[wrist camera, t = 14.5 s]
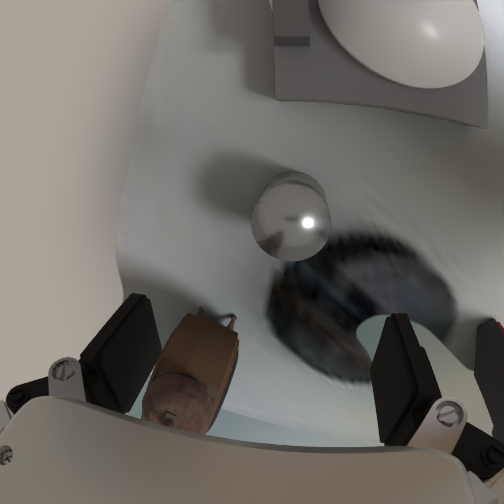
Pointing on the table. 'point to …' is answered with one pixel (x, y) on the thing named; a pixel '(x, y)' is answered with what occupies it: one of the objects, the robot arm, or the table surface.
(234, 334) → the alarm clock
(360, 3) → the scale
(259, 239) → the cylinder
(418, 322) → the table surface
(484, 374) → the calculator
